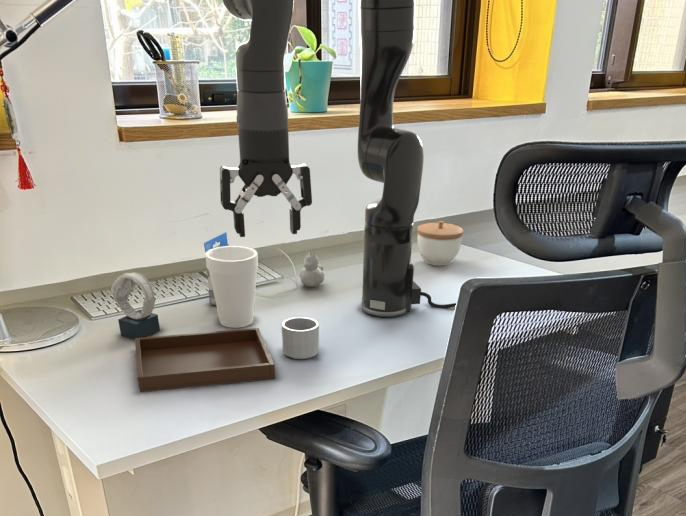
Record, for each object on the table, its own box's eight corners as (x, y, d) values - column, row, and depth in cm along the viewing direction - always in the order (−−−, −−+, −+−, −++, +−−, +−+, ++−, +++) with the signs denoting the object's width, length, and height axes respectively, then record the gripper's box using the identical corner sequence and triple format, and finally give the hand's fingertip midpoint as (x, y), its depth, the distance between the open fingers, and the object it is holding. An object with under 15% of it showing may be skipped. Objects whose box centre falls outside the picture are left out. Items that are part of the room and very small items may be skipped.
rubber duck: (293, 286, 153) (292, 249, 148) (311, 278, 158) (311, 242, 153) (313, 291, 151) (313, 254, 146) (331, 283, 155) (331, 246, 151)
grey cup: (314, 344, 128) (313, 315, 125) (322, 359, 123) (322, 329, 120) (279, 347, 127) (278, 318, 124) (286, 362, 122) (285, 332, 119)
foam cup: (251, 333, 132) (247, 263, 124) (204, 327, 133) (197, 258, 126) (267, 314, 139) (264, 248, 132) (222, 309, 141) (216, 243, 133)
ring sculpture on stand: (134, 323, 134) (125, 265, 127) (167, 332, 131) (159, 274, 124) (112, 333, 130) (101, 274, 123) (145, 343, 127) (136, 283, 120)
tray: (259, 341, 129) (258, 327, 127) (275, 378, 117) (274, 364, 115) (136, 351, 124) (134, 337, 122) (139, 392, 111) (137, 377, 110)
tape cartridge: (226, 307, 142) (221, 245, 135) (208, 304, 143) (203, 243, 136) (246, 293, 148) (243, 233, 141) (230, 291, 150) (225, 231, 142)
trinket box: (408, 256, 173) (411, 216, 167) (448, 253, 176) (452, 214, 170) (424, 270, 164) (428, 229, 159) (466, 267, 167) (471, 226, 162)
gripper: (218, 129, 101) (227, 243, 110) (315, 127, 105) (316, 238, 114) (211, 121, 107) (221, 230, 116) (303, 119, 111) (305, 225, 120)
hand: (268, 234), depth 115 cm, fingers open, 8 cm apart
